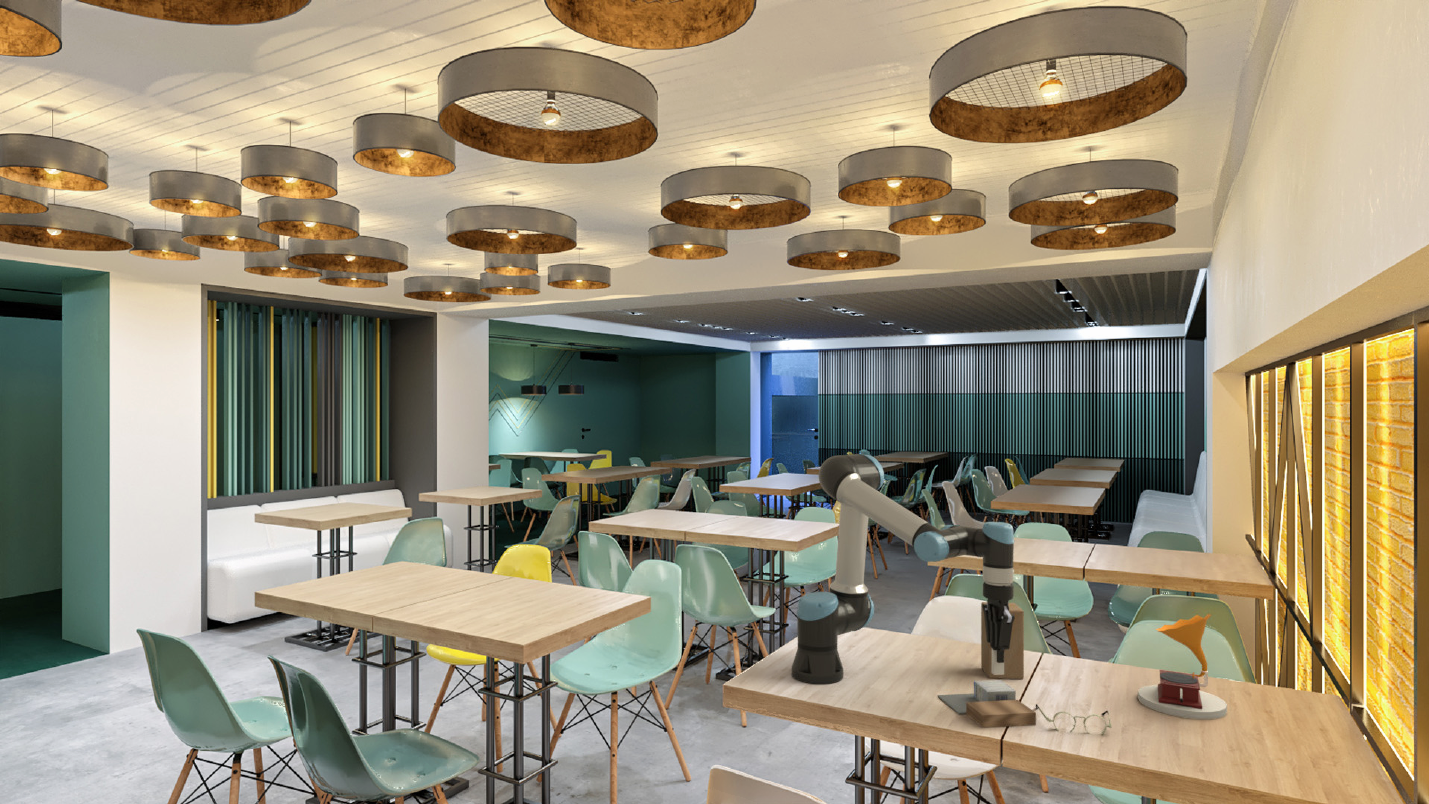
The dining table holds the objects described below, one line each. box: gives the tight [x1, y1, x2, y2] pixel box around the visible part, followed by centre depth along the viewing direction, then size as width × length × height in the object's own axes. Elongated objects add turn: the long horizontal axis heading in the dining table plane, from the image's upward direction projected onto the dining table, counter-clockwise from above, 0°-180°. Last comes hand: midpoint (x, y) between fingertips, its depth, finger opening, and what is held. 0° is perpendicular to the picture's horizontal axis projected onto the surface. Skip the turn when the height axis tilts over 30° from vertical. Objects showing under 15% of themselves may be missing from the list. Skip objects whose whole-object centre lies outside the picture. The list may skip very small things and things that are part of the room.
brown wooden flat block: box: [965, 699, 1037, 728], centre depth 203 cm, size 14×9×3 cm, turn 98°
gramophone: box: [1137, 613, 1228, 720], centre depth 214 cm, size 20×20×25 cm
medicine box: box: [973, 679, 1017, 702], centre depth 214 cm, size 8×4×9 cm
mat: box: [937, 692, 980, 715], centre depth 214 cm, size 17×13×1 cm
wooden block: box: [980, 601, 1025, 680], centre depth 239 cm, size 10×10×20 cm
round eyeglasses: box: [1035, 703, 1113, 736], centre depth 202 cm, size 17×15×5 cm
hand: (997, 673), depth 208 cm, fingers closed
